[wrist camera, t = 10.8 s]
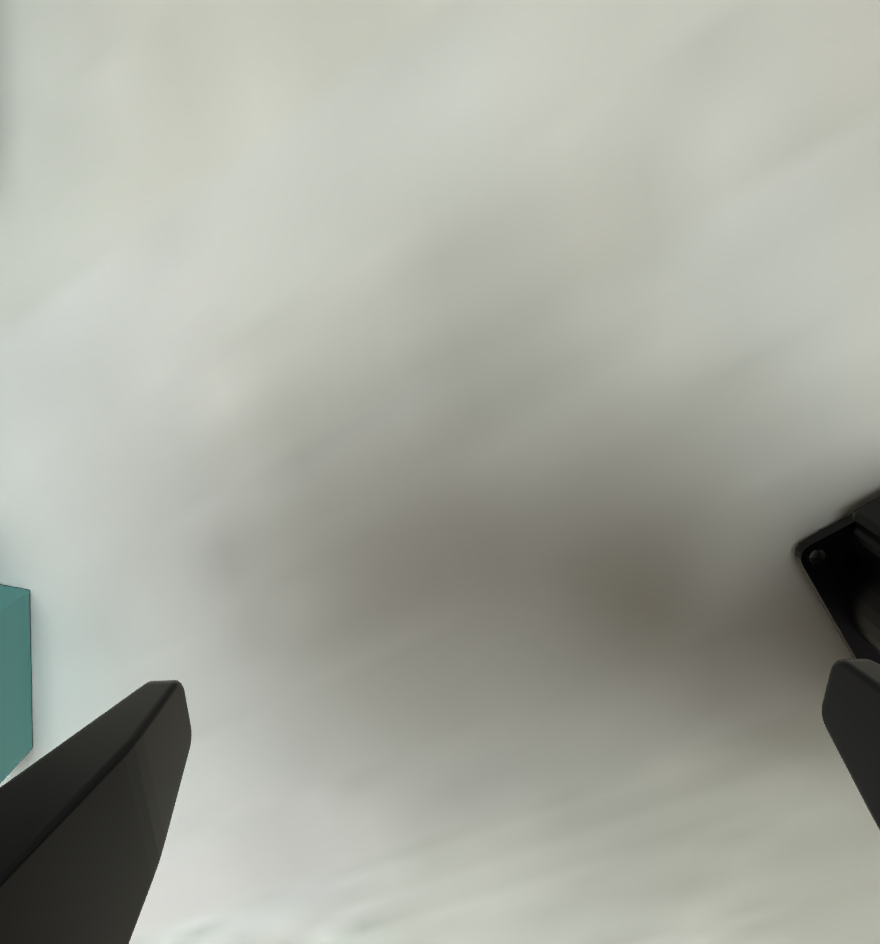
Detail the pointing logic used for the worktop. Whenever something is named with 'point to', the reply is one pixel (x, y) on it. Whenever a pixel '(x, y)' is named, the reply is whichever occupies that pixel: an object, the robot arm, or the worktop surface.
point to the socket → (14, 678)
